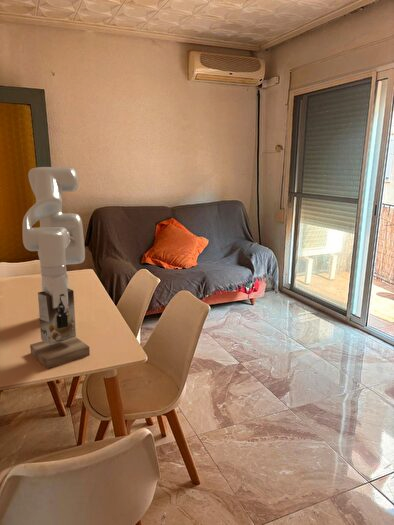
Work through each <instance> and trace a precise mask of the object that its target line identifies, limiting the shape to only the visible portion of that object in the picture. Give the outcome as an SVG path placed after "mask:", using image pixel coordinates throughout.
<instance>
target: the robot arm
mask: <svg viewBox="0 0 394 525" xmlns="http://www.w3.org/2000/svg"><path fill="white" fill-rule="evenodd" d="M27 174H28V175H27V176H28V181H29V184H30V188H31V190H32V192H33V195H34V196H35V203H34V204H33V205H31V207H30V208H29V209H28V210H27V211H26V213H25V215H24V216H23V219H22V243H23V246H24V248H25V249H26V250H27V251H30V252H37V255H38V259H39V263H40V276H41V292H43V291H44V292H45V293H47V294H49V295H51V297H52V308H53V309H55V308H57V314H58V316H57V327H58V328H63V327H67V326H68V318H67V315H68V313H67V312H68V308H69V306H68V292H67V288H68V289H70V288H69V276H68V273H67V265H78V264H79V265H80V264H83V263H84V261H85V258H86V249H85V239H84V228H83V227H84V226H83V225H84V224H83V220H82V218H81V216H80V214H78V213H73V212H72V213H71V212H68V213H67V212H66V213H63V212H62V211H63V209H62V207H63V194H62V193H67V192H76V191H77V190H78V189H79V188H78V187H79V178H78V176H79V175H78V174H77V171H76V169H75V168H73V167H69V166H67V167H66V166H64V167H62V166H39V167H33V168H30V170H29V171H28V173H27ZM37 222H39V227H33V226H34V225H35V224H36V223H37ZM59 304H62V306H59ZM59 308H62V309H61V311H60V310H59Z"/></svg>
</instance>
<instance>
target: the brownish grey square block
mask: <svg viewBox="0 0 394 525" xmlns="http://www.w3.org/2000/svg"><path fill="white" fill-rule="evenodd" d="M29 348H30V354H31V355H32V356H33V357H35V359H36V360H37V361H39V363H41V364H42V366H44V367H45V368H46V369H48V370H49V369H50V368H53V367H57V366H61V365H64V364H65V363H70V362H73V361H75V360H79V359H81V358H85V357H87V356H90V355H91V353H90V346H89V345H88V344H86V343H85V342H84V341H82V339H81V340H80V338H78V337H73V338H71V339H68V340H65V341H62V342H59V343H56V344H53V345H50V344H48V343H46V342H44V341H42V340H41V341H38V342H36V343H35V342H34V343H31V344H29Z"/></svg>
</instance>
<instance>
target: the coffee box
mask: <svg viewBox="0 0 394 525" xmlns="http://www.w3.org/2000/svg"><path fill="white" fill-rule="evenodd" d="M67 292H68V306H69V308H68V312H67V313H68V315H67V318H68V326H67V327H63V328H58V327H57V316H58V314H57V308H55V309H53V308H52V297H51V295H49V294H47V293H45V292H44V291H43V292H42V291H39V292H37V296H38V297H37V299H38V312H39V313H38V314H39V327H40V340H41V341H44V342H46V343H48V344H50V345H53V344H56V343H59V342H62V341H65V340H68V339H71V338H73V337H76V336H77V332H76V329H77V328H76V316H75V315H76V314H75V312H76V311H75V296H74V290H73V289H70V288H69V289H68V288H67ZM59 306H62V304H59ZM61 309H62V308H59V310H60V311H61ZM76 338H77V337H76Z"/></svg>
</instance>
